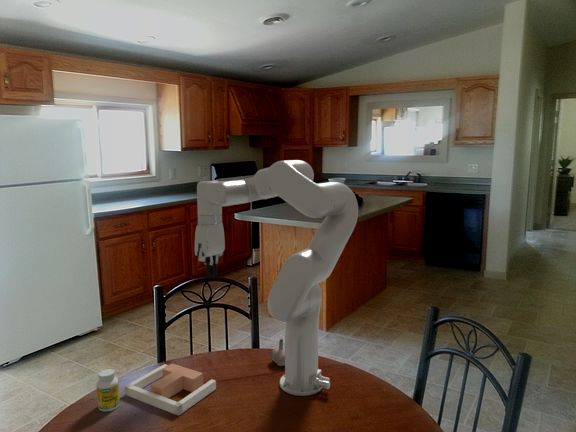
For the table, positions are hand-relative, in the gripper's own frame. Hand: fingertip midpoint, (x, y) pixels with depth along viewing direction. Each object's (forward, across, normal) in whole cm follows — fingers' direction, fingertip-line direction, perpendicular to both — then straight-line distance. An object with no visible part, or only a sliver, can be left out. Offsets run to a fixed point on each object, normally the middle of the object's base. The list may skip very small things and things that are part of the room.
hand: (211, 276), depth 143 cm
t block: (+27, +23, +4) cm, 36 cm away
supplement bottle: (+27, +37, -5) cm, 46 cm away
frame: (+27, +24, +4) cm, 36 cm away
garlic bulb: (+27, -7, +22) cm, 36 cm away
